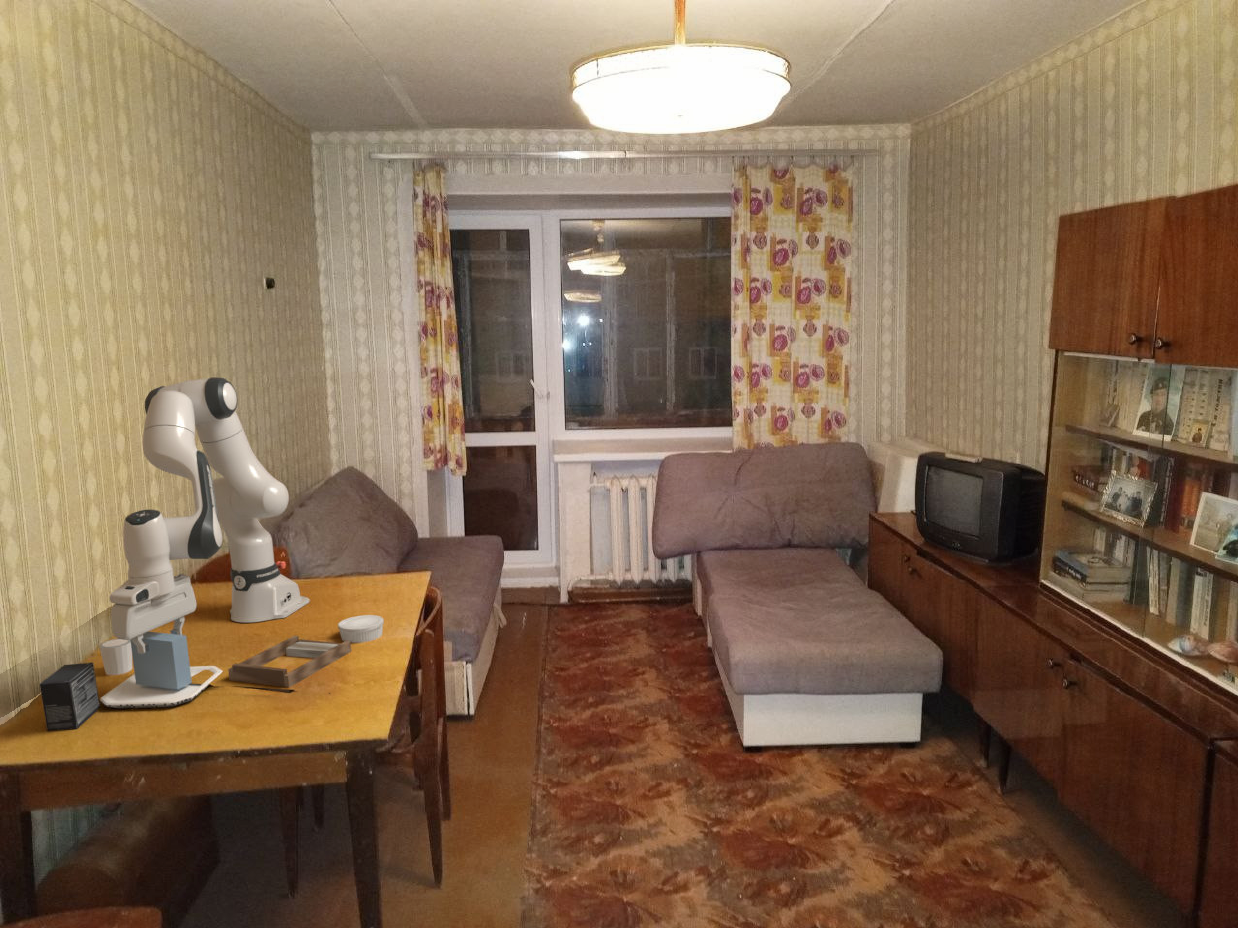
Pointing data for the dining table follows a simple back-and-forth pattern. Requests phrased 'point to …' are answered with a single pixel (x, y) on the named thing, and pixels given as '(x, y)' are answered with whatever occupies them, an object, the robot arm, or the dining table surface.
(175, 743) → the dining table surface
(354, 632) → the ramekin
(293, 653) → the offcut upper
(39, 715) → the dining table surface
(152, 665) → the slate blue block
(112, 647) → the white cup
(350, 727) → the dining table surface
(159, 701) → the plate
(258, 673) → the frame
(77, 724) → the small box
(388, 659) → the dining table surface
